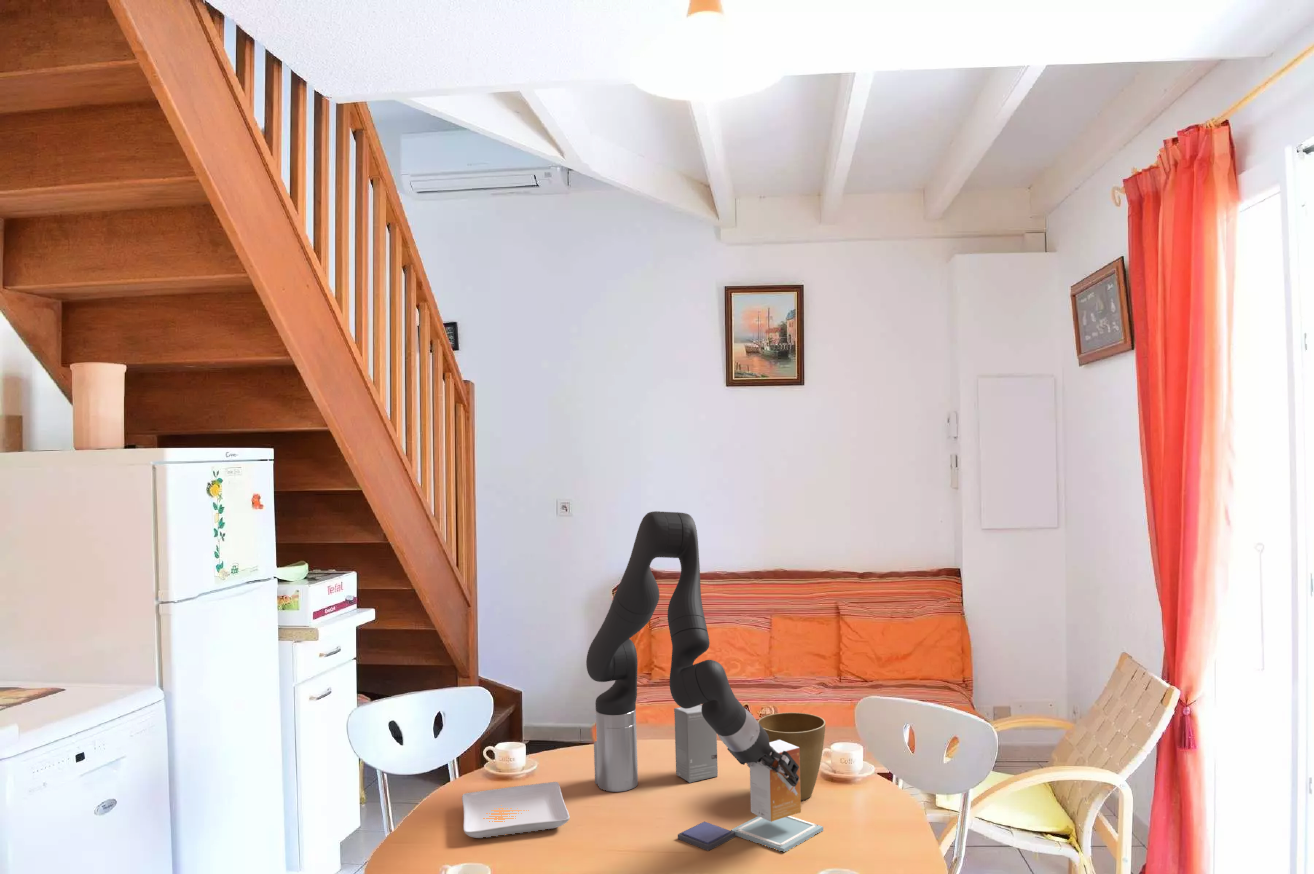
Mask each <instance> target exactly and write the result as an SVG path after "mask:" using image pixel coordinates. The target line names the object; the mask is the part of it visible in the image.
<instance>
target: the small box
mask: <svg viewBox="0 0 1314 874" xmlns="http://www.w3.org/2000/svg"><path fill="white" fill-rule="evenodd" d="M769 744H770V746H771V747H773V749H774V750H775V751H776V752H778V753H779V754H782V752H783V751H786V752H788V753H789V755H790V756H791V757H792V758H793V760H794V761H795V762H796V763H797V765H798V766H799V769H798V771H797V773H796V774H797V775H798V776H799V780H798V783H797V785H796V786H795V787H794V786H791V785H790V784H789V782H788V781H787V780H786V779H785V778H784V777H783V776H782V775H781V774H779V773H773V772H772V771H770V770H769V769H767V768H766V767H765V766H761V765H759V764H758V763H755V762H754V764H753V766H750V768H749V786H750V788H749V789H750V791H749V792H750V813H752V814H754V815H756V817H757V816H760V817H762V818H764V819H766V820H768V821H770V822H772V821H775V820H778V819H781V818H784V817H787V816H793V815H796V814H800V813H802V806H801V805H802V800H801V792H800V748H799V747H797V746H795V745H792V744H790V743H787V742H784V741H782V740H777V741H773V742H769ZM776 763H777V760H775V761H774V763H773V765H771V766H773V767H775V765H776ZM781 770H782V771H784V770H783V768H782V767H781Z"/></svg>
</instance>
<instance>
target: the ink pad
mask: <svg viewBox="0 0 1314 874" xmlns="http://www.w3.org/2000/svg"><path fill="white" fill-rule="evenodd" d="M735 838H736V836H735V832H733V831H731V829H727V828H724V827H721V826H718V825H717V824H712V823H709V822H707V821H703V822H701V823H698V824H696V825H694V826H691V827H690V828H688V829H686V830H684V831H682V832H679V833H678V834H677V840H680V841H682V842H685V843H687V844H690V845H692V846H695V847H698V848H700V849H703V850H706V851H711V850H712V849H715V848H716V847H719V846H720V845H722V844H724V843H727V842H728V841H730V840H732V839H735Z"/></svg>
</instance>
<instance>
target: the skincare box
mask: <svg viewBox="0 0 1314 874" xmlns="http://www.w3.org/2000/svg"><path fill="white" fill-rule="evenodd" d="M701 709H702V704H701V705H698V706H695V707H692V708H688V709H685V708H682V707H680V706H679V707H675V708H673V712H674V714H673V715H674V740H675V741H674V743H675V744H674V745H675V746H674V749H675V750H674V751H675V752H674V753H675V775H676V776H678V777H679V778H682V779H683V780H685V781H687V782H688V783H693V782H698V781H699V782H700V781H702V780H706V779H711V778H717V777H718V775H719V774H718V767H719V766H718V738H717V737H718V734H717V733H716V732H715V731H714V730H713V728H712V727H711V726H710V725H709V724H708V723H707V722H706V720H705V719H704V717H703V715H702V711H701Z"/></svg>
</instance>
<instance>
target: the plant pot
mask: <svg viewBox="0 0 1314 874" xmlns="http://www.w3.org/2000/svg"><path fill="white" fill-rule="evenodd" d="M757 721H758V723H759V724H760V725H761V726H762V727H763V729H764V730H765V731H766V732H767V734H768V737H769V742H773V741H777V740H782V741H784V742H787V743H790V744H792V745H795V746H797V747H799V748H800V792H801V801H805V800H807V799H810V798H811V797H812V795H813V792H814V788H815V786H816V783H817V780H818V779H817V778H818V776H819V771H820V765H821V762H822V761H821V760H822V756H823V751H824V745H825V743H824V742H825V734H826V720H825V719H824V718H823V717H821V716H819V715H815V714H811V713H805V712H804V713H803V712H778V713H771V714H767V715H765V716H763V717H761V718H759V719H758V720H757Z"/></svg>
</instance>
